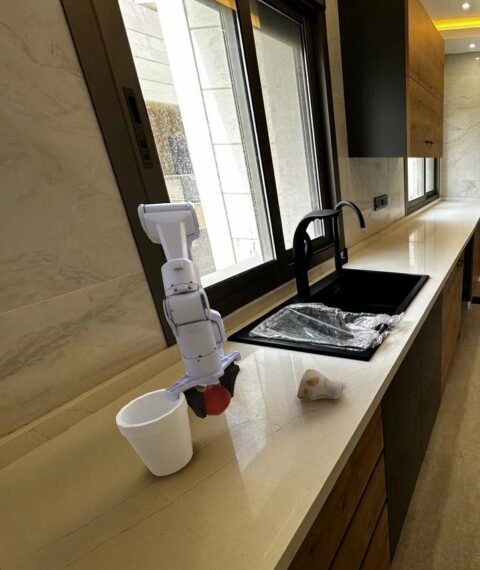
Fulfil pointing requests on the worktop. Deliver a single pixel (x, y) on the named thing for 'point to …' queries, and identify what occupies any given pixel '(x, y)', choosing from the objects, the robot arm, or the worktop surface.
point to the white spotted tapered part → (317, 386)
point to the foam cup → (158, 431)
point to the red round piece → (216, 399)
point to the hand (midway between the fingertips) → (215, 406)
